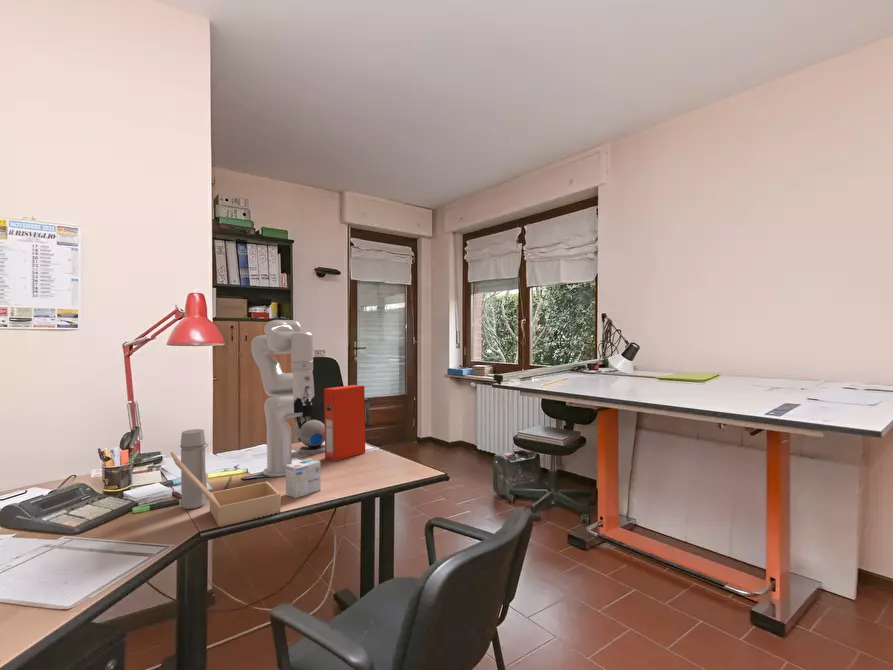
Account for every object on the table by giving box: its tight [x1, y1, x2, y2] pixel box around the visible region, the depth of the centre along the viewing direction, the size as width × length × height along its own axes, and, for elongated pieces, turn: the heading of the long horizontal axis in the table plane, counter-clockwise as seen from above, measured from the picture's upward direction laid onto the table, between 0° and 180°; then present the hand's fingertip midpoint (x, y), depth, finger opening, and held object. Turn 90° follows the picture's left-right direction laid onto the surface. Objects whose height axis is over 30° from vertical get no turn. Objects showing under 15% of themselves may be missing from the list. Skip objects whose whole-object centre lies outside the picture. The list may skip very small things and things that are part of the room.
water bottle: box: [180, 428, 208, 510], centre depth 150 cm, size 9×8×25 cm
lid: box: [170, 451, 218, 507], centre depth 137 cm, size 15×18×1 cm
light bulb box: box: [285, 458, 322, 499], centre depth 163 cm, size 11×7×11 cm, turn 141°
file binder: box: [323, 384, 366, 462], centre depth 210 cm, size 8×17×32 cm, turn 141°
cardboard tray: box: [209, 481, 282, 528], centre depth 145 cm, size 15×18×6 cm
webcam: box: [298, 419, 325, 455], centre depth 219 cm, size 13×13×15 cm
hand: (302, 414), depth 162 cm, fingers open, 8 cm apart
